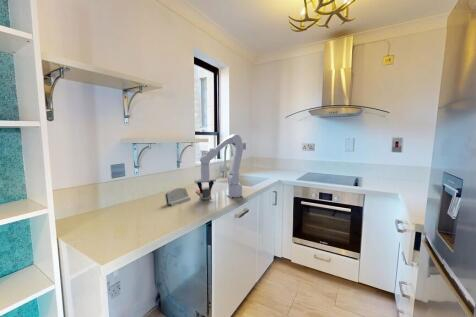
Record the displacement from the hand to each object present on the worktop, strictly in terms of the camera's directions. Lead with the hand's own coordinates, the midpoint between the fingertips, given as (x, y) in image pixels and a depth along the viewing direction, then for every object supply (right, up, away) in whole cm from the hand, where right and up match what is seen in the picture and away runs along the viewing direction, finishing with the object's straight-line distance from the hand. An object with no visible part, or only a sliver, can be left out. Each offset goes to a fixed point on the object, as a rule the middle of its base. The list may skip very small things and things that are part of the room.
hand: (205, 192), depth 145 cm
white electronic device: (-17, -5, -7) cm, 19 cm away
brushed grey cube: (0, -2, 0) cm, 2 cm away
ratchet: (-3, -3, +8) cm, 9 cm away
